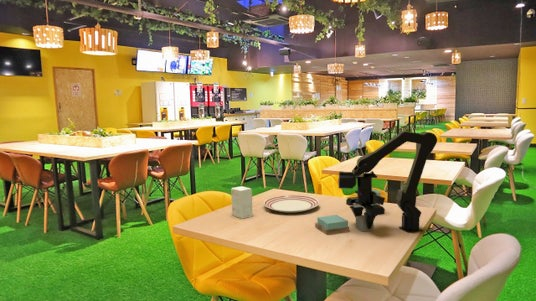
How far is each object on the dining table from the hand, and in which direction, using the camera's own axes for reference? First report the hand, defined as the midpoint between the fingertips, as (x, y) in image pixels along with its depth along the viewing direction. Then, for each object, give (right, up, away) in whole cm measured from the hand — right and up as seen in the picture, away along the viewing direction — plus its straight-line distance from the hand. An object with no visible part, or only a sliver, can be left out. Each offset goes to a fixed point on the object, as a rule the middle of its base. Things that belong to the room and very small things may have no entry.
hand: (364, 226), depth 153 cm
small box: (-51, 0, +23) cm, 56 cm away
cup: (+9, +2, +22) cm, 24 cm away
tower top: (-13, 0, 0) cm, 13 cm away
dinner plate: (-27, +2, +35) cm, 44 cm away
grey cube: (0, -1, 0) cm, 1 cm away
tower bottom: (-13, -2, +1) cm, 13 cm away
